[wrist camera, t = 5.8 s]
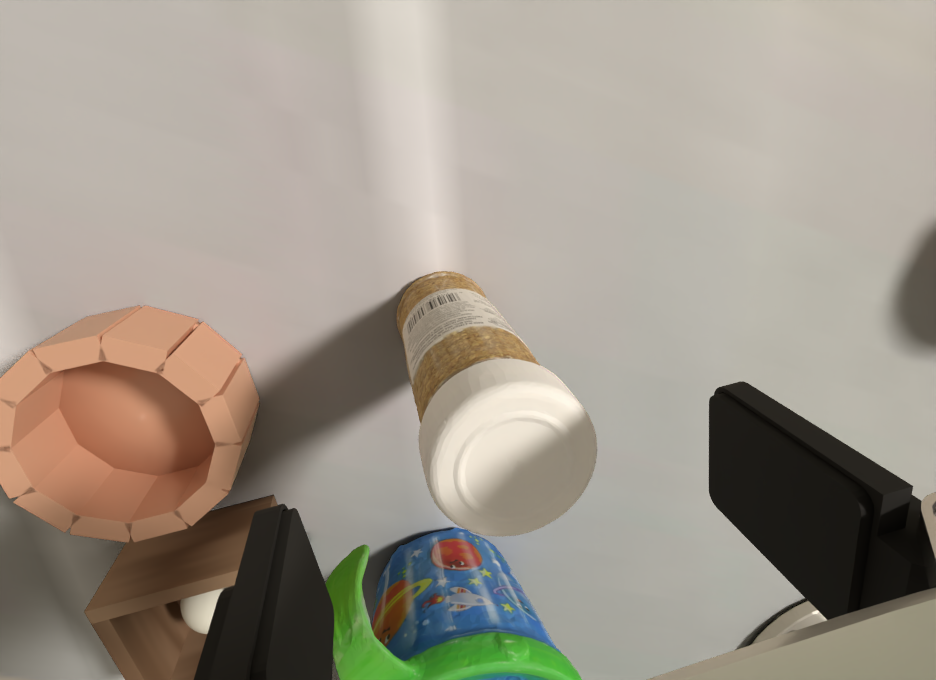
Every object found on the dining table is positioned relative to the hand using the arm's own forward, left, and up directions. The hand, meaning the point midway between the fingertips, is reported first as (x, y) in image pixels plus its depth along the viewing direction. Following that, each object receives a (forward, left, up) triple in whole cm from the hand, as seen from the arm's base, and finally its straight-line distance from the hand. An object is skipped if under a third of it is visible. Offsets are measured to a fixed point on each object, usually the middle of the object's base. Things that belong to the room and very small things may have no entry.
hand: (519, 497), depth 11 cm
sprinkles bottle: (0, 0, -15) cm, 15 cm away
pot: (+14, +1, -15) cm, 20 cm away
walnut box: (+14, +11, -15) cm, 23 cm away
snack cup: (+3, +16, -15) cm, 22 cm away
